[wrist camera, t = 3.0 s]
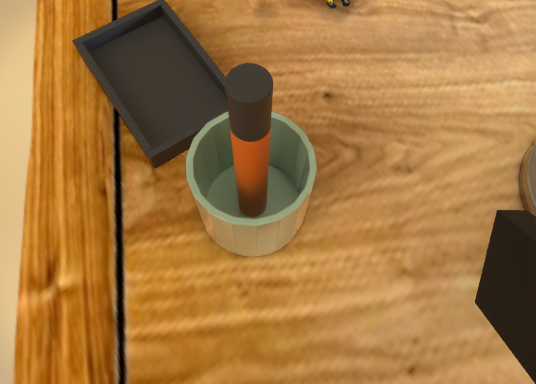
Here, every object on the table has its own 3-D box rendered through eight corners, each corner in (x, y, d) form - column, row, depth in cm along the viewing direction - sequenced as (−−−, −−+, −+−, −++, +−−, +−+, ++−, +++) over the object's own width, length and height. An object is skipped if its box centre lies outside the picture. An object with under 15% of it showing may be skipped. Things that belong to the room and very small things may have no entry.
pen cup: (253, 141, 40) (252, 86, 32) (325, 207, 38) (343, 164, 30) (179, 205, 38) (158, 161, 30) (252, 279, 35) (250, 253, 27)
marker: (253, 185, 38) (249, 54, 22) (272, 204, 37) (283, 82, 22) (233, 203, 37) (214, 81, 21) (252, 222, 37) (248, 111, 21)
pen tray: (79, 54, 44) (71, 40, 42) (166, 12, 46) (162, -3, 44) (154, 168, 39) (149, 158, 37) (247, 115, 41) (246, 103, 39)
